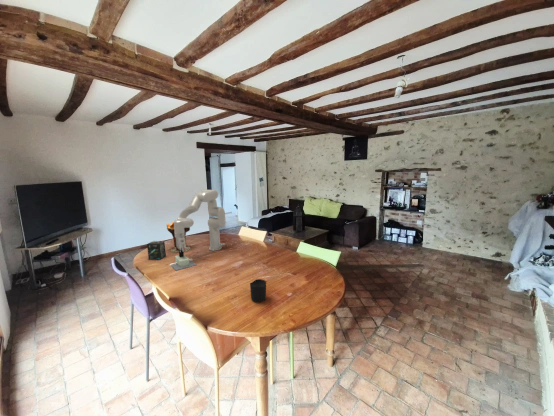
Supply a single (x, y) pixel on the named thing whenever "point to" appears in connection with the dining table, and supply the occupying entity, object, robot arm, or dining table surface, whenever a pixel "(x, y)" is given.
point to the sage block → (182, 261)
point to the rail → (176, 263)
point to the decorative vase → (171, 230)
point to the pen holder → (258, 290)
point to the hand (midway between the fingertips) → (181, 256)
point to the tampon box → (156, 250)
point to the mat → (183, 266)
